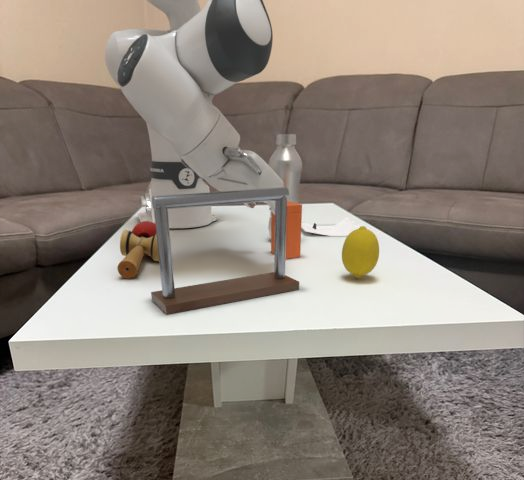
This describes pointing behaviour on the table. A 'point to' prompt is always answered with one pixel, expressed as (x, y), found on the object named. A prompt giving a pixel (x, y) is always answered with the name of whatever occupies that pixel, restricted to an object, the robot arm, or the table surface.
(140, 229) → the kendama
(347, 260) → the lemon
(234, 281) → the rail
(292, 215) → the orange u-shaped hook
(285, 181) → the silver metal bottle
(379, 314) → the table surface
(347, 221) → the folded paper
